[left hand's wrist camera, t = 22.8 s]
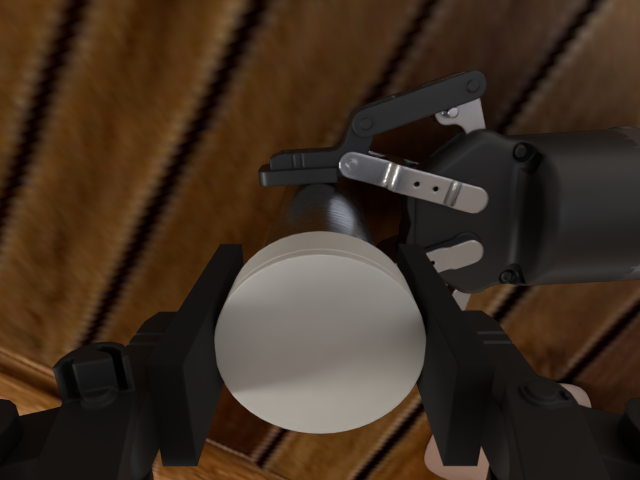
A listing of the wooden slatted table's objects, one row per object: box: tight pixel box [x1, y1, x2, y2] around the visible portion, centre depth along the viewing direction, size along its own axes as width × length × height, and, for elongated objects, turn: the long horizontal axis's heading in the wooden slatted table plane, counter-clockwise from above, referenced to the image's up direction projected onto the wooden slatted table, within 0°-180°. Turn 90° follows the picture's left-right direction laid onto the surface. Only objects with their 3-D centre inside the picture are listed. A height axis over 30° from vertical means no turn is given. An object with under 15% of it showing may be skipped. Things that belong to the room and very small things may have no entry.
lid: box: [214, 231, 426, 433], centre depth 11 cm, size 6×6×2 cm
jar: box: [264, 176, 376, 248], centre depth 19 cm, size 4×4×16 cm
